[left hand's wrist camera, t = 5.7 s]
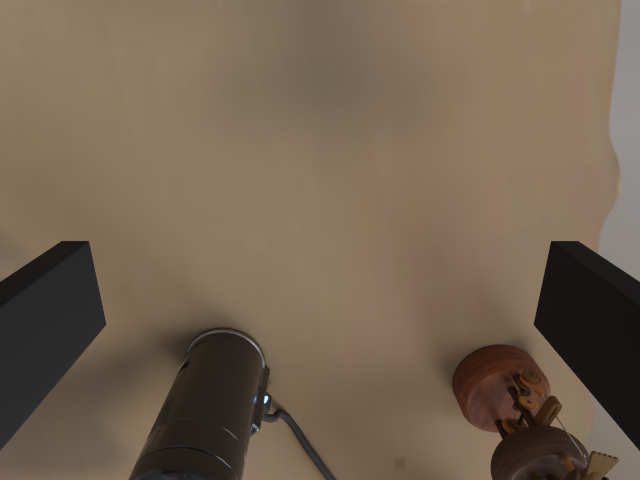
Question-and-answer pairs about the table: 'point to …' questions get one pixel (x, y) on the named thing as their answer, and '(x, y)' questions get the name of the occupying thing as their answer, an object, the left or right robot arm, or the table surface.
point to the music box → (522, 419)
